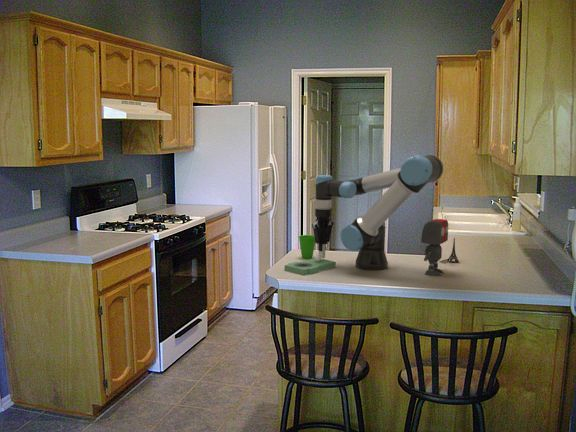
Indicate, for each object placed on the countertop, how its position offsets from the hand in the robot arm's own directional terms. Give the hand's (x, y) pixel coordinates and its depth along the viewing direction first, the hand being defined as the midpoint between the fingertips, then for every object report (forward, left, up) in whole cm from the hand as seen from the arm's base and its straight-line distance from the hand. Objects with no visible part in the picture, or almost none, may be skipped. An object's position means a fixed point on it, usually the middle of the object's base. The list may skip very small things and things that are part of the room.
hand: (322, 257), depth 268 cm
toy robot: (-44, -26, -4) cm, 51 cm away
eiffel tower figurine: (-39, -52, -5) cm, 66 cm away
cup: (+16, -7, -4) cm, 17 cm away
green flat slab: (0, +8, -4) cm, 9 cm away
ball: (0, +3, 0) cm, 3 cm away
